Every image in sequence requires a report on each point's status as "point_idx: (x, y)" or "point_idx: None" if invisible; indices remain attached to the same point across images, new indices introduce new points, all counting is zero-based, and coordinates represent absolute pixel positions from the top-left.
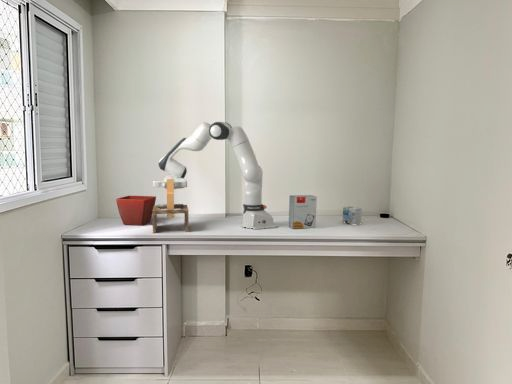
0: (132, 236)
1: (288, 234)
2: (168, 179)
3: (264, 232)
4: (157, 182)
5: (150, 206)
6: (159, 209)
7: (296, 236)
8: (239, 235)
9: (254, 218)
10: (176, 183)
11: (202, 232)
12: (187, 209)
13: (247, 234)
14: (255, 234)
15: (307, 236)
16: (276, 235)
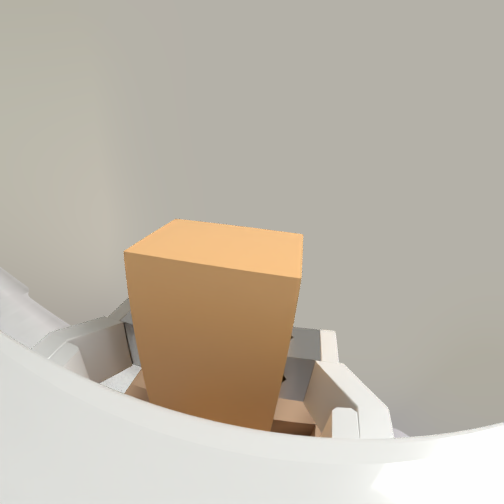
0: (395, 432)
1: (2, 289)
2: (267, 233)
3: (6, 316)
4: (494, 430)
5: None
6: (318, 436)
7: (11, 278)
8: (64, 325)
9: None
10: (98, 323)
11: None
12: (141, 376)
13: (44, 323)
14: (33, 315)
15: (4, 272)
16: (20, 294)
